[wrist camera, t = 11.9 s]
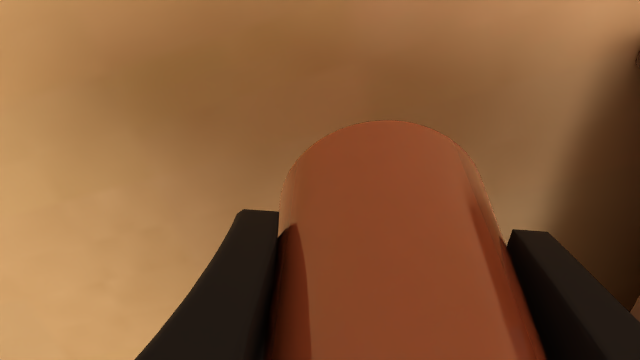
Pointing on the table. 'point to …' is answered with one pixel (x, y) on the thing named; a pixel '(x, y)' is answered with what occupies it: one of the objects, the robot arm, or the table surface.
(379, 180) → the pepper shaker
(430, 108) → the table surface
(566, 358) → the robot arm
